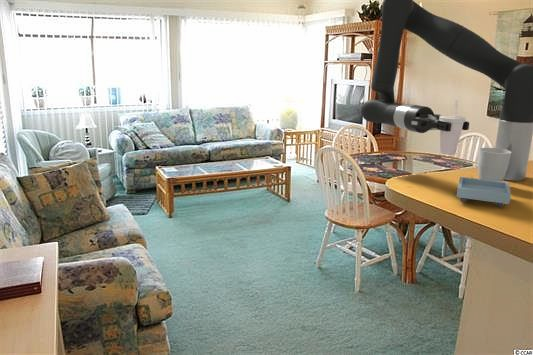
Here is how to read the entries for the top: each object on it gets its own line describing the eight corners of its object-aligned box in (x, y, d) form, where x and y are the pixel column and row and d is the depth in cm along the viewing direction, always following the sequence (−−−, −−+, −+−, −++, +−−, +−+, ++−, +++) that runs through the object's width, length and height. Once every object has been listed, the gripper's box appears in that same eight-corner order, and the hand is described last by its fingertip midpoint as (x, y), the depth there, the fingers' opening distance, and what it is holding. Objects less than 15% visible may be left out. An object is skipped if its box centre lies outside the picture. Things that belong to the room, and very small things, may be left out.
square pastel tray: (458, 191, 120) (460, 176, 119) (506, 197, 116) (508, 182, 115) (455, 203, 110) (457, 187, 109) (508, 210, 105) (511, 194, 104)
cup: (502, 182, 130) (507, 148, 127) (508, 190, 122) (514, 154, 119) (472, 179, 132) (476, 146, 129) (476, 187, 124) (481, 152, 122)
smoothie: (463, 156, 115) (470, 102, 111) (436, 155, 116) (443, 101, 112) (458, 151, 121) (465, 99, 117) (433, 150, 122) (439, 98, 118)
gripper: (394, 105, 125) (439, 113, 110) (433, 104, 131) (481, 111, 116) (392, 132, 127) (436, 143, 112) (430, 129, 133) (477, 139, 118)
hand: (459, 126), depth 114 cm, fingers closed on smoothie, 5 cm apart
